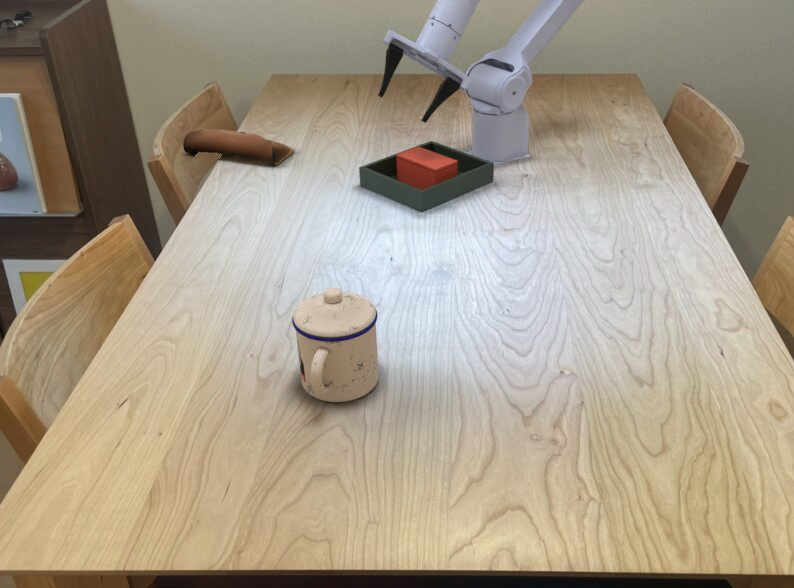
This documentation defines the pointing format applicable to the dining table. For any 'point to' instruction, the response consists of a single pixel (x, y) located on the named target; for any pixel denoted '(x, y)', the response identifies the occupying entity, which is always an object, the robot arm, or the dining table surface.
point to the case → (424, 168)
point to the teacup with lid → (337, 345)
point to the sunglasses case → (236, 145)
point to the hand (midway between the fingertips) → (402, 108)
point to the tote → (469, 178)
